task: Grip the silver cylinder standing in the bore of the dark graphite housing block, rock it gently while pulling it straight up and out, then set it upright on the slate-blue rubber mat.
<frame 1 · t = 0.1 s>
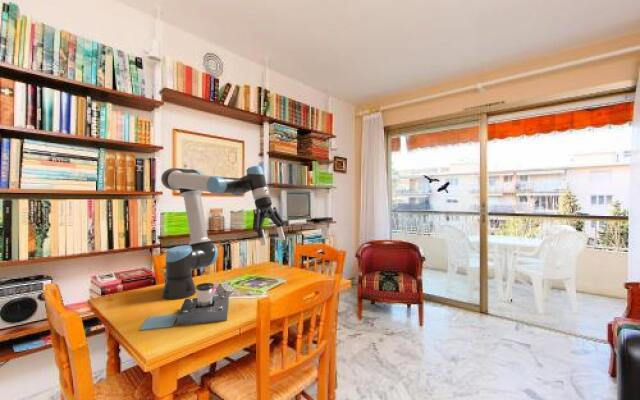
hand: (274, 242, 133), 28 cm above the table, tool tilted 20°, fingers open, 13 cm apart
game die: (224, 298, 140), on the table
housing: (205, 313, 121), on the table
mat: (160, 322, 113), on the table
silver cylinder: (205, 313, 121), resting in housing
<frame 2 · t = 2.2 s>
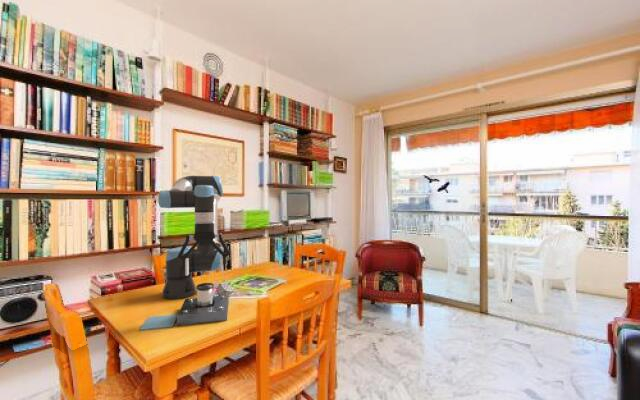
hand: (204, 273, 121), 17 cm above the table, tool pointing down, fingers open, 13 cm apart
nothing on the table moved.
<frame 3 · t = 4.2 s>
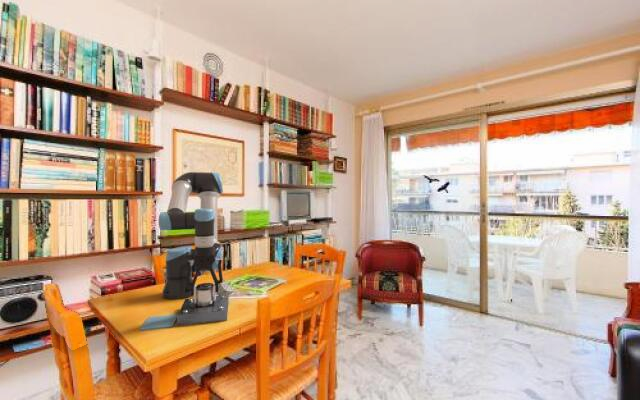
hand: (205, 300, 121), 6 cm above the table, tool pointing down, fingers closed on silver cylinder, 7 cm apart
silver cylinder: (205, 313, 121), resting in housing, touching gripper
everything else where it was.
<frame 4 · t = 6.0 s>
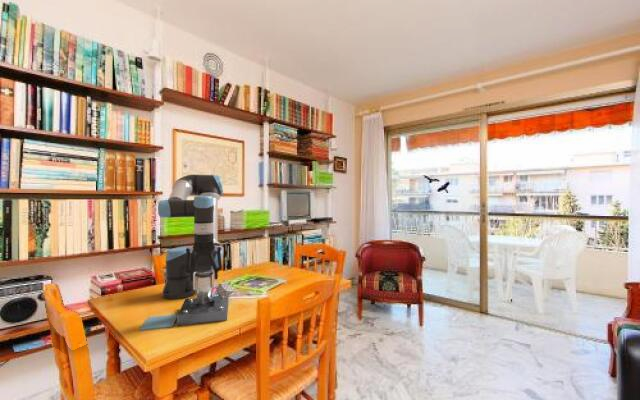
hand: (204, 287, 121), 11 cm above the table, tool pointing down, fingers closed on silver cylinder, 7 cm apart
silver cylinder: (204, 300, 121), point 5 cm above the table, touching gripper
everything else where it was.
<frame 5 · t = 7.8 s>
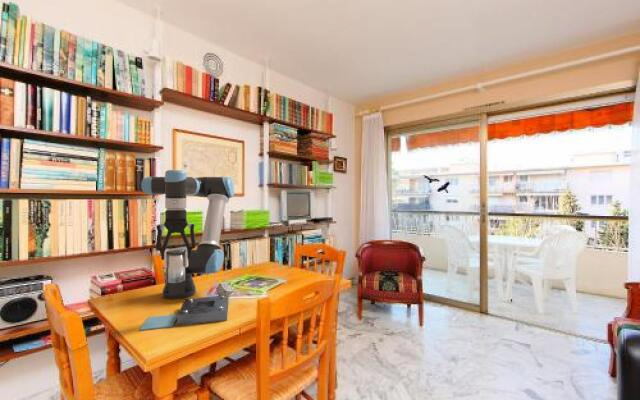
hand: (176, 267, 115), 21 cm above the table, tool pointing down, fingers closed on silver cylinder, 7 cm apart
silver cylinder: (176, 280, 116), point 15 cm above the table, touching gripper
everything else where it was.
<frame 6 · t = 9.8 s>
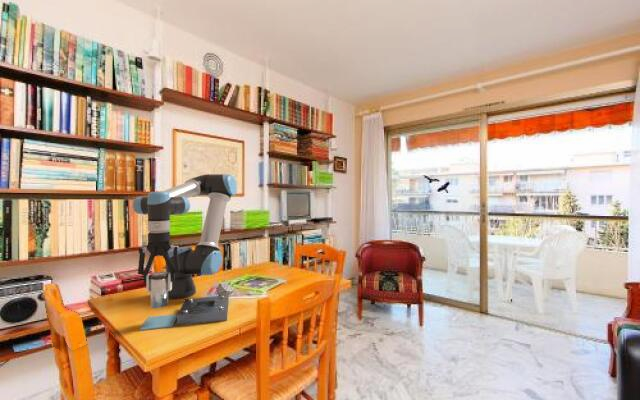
hand: (159, 290, 113), 13 cm above the table, tool pointing down, fingers closed on silver cylinder, 7 cm apart
silver cylinder: (159, 304, 113), point 7 cm above the table, touching gripper
everything else where it was.
when the fingers open (7 cm above the table, at t = 11.5 s): silver cylinder drops 1 cm, resting on mat.
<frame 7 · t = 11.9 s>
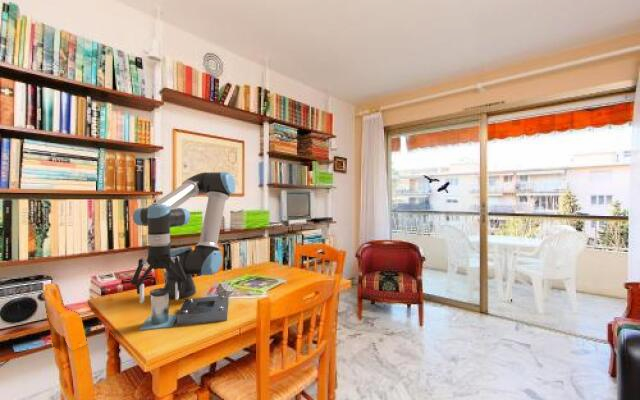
hand: (159, 300, 113), 9 cm above the table, tool pointing down, fingers open, 11 cm apart
silver cylinder: (160, 321, 113), point 1 cm above the table, touching mat
everything else where it was.
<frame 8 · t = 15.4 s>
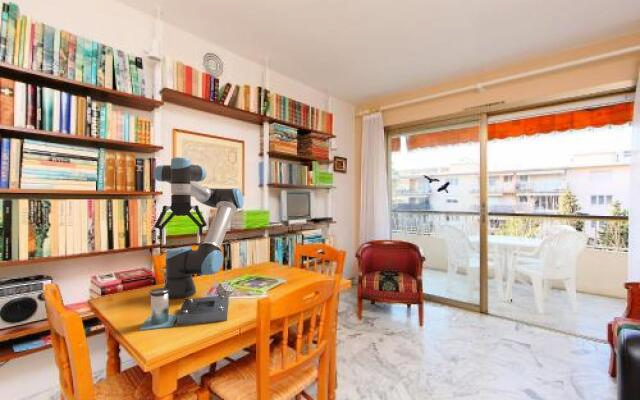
hand: (181, 243, 125), 29 cm above the table, tool pointing down, fingers open, 13 cm apart
nothing on the table moved.
at the end: silver cylinder inside the target area on the mat (0.0 cm from its centre), point 0.5 cm above the mat's base; silver cylinder tilted 0°; silver cylinder touching mat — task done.
